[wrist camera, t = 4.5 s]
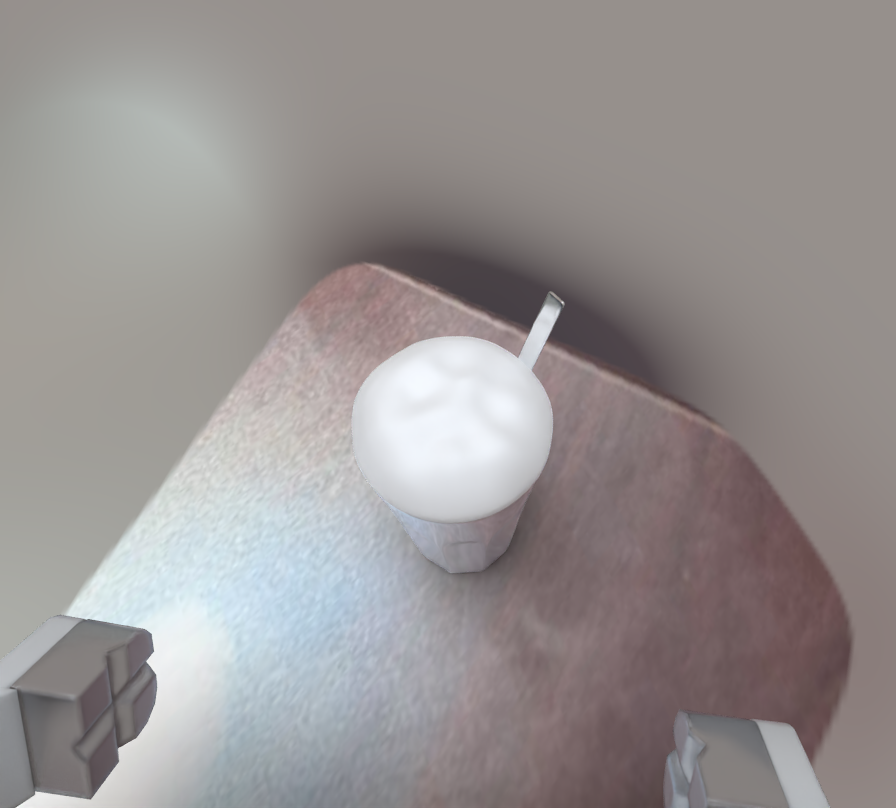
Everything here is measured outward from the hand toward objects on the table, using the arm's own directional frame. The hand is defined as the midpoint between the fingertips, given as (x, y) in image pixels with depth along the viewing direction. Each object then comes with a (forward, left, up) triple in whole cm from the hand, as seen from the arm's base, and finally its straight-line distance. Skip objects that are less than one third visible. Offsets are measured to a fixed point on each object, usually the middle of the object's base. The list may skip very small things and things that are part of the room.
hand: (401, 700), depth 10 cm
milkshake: (+1, -6, -11) cm, 12 cm away
